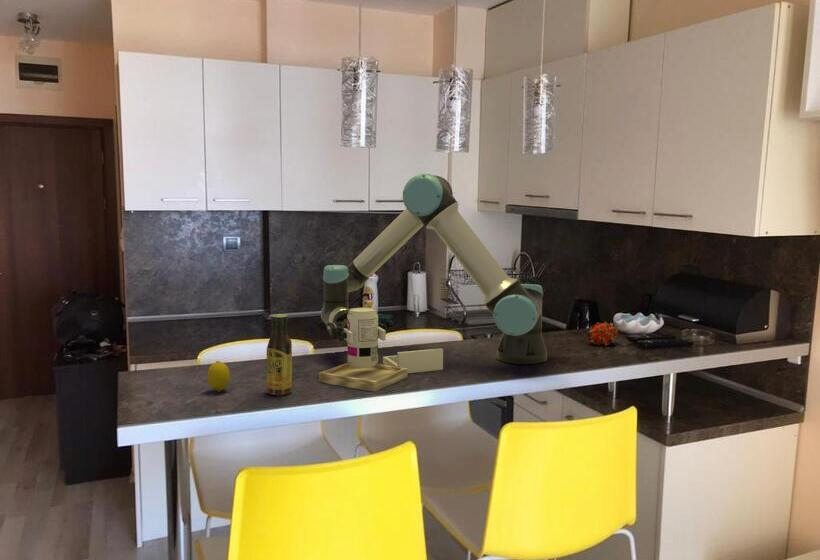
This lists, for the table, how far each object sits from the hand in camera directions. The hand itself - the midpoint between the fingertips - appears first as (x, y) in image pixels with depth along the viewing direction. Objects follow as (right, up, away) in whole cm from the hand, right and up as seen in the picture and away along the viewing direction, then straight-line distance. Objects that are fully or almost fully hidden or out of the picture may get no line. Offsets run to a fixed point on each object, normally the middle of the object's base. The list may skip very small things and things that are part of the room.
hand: (368, 336), depth 173 cm
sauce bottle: (-22, -14, -6) cm, 27 cm away
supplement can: (-2, -8, +5) cm, 10 cm away
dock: (+12, -10, +20) cm, 25 cm away
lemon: (-37, -14, -5) cm, 40 cm away
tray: (-2, -12, +6) cm, 14 cm away
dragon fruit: (+75, -7, +48) cm, 90 cm away
